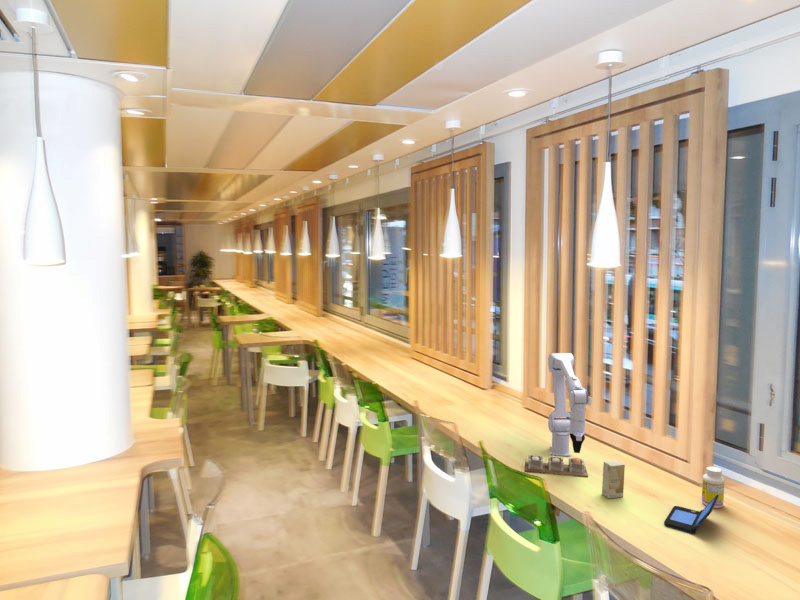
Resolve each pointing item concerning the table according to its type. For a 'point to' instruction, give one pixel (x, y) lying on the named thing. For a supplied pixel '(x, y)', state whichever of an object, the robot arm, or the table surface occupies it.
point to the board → (555, 467)
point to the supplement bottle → (713, 487)
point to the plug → (535, 458)
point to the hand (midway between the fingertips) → (576, 452)
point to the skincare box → (613, 479)
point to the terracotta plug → (576, 460)
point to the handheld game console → (688, 517)
